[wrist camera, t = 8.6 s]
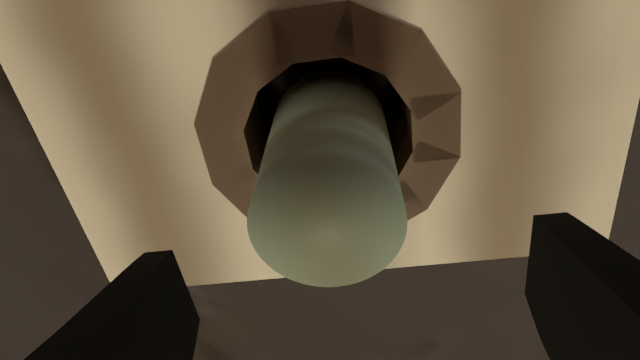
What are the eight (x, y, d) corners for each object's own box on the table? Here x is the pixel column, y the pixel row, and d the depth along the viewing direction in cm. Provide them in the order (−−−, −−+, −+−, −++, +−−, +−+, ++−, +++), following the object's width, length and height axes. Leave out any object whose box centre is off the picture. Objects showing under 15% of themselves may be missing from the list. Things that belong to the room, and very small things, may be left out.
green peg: (376, 49, 17) (403, 147, 10) (384, 145, 19) (410, 280, 12) (270, 63, 18) (230, 167, 11) (289, 155, 20) (264, 292, 13)
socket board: (623, -113, 14) (688, -115, 12) (572, 205, 21) (607, 250, 18) (25, -18, 16) (-35, -2, 14) (140, 247, 23) (114, 294, 20)
